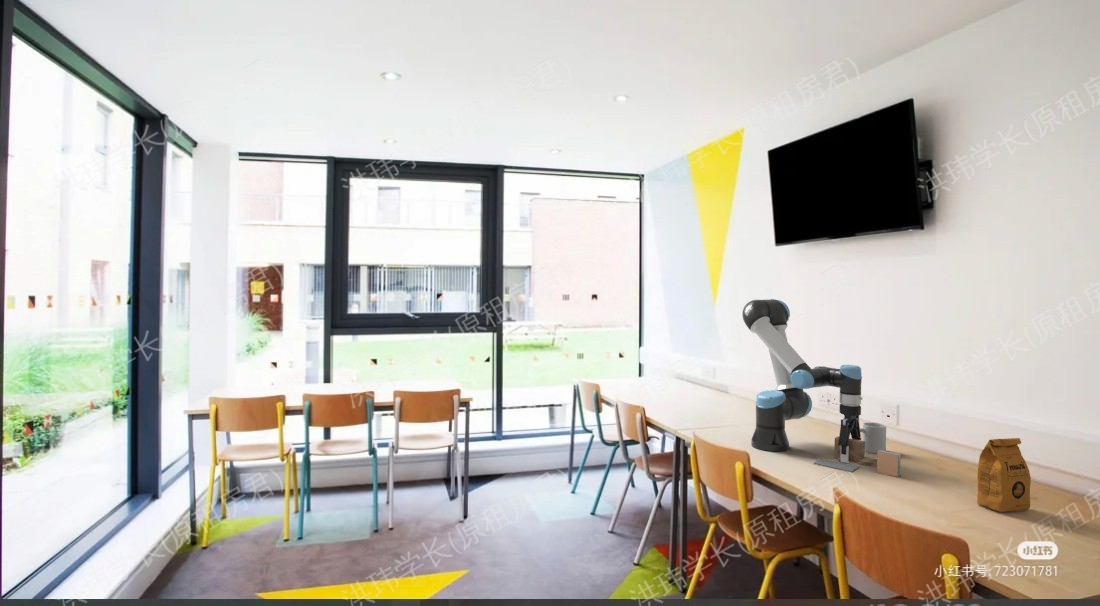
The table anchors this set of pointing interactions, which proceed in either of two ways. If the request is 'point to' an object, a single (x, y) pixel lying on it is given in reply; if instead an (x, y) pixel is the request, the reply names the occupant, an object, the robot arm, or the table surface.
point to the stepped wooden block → (856, 452)
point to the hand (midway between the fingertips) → (849, 459)
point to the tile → (888, 463)
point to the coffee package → (1003, 476)
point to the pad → (836, 465)
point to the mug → (874, 437)
